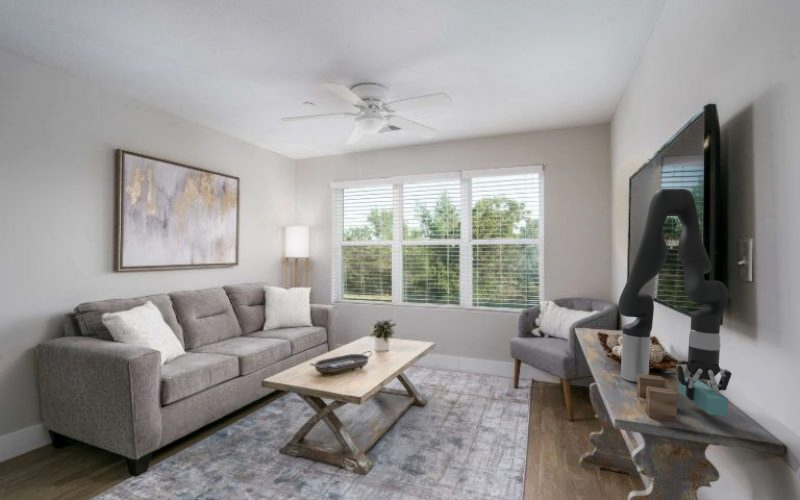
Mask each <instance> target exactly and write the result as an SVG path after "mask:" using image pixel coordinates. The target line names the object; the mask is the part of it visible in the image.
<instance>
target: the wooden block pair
mask: <svg viewBox="0 0 800 500" xmlns="http://www.w3.org/2000/svg"><path fill="white" fill-rule="evenodd" d="M636 398H637V400H638V402H639V403H640V405H641V407H642V408H643V411H644V412H645V413H646V415H647V416H648V418H653V419H657V420H658V419H659V420H664V419H665V421H670V420H672V422H677V420H678V419H677V418H678V417H677V415H678V393H677V392H676V391H675V390H674V389H671V388H669V389H668V388H666V380H665V379H664V377H662V376H661V375H651V374H649V375H645V374H637V382H636Z"/></svg>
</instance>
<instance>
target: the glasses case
mask: <svg viewBox="0 0 800 500" xmlns="http://www.w3.org/2000/svg"><path fill="white" fill-rule="evenodd" d="M684 377H685V381H687V379H688V376H687V377H686V376H684ZM692 388H693V400H689V401H690V402H692V404H694V405H695V406H697V407H699V408H700V409H701V410H702V411H703V412H705V413H706V414H708V415H711V416H712V415H713V416H720V417H721V416H722V417H723V416H724V417H728V409H729V408H728V407H729V398H727V397H726V396H724V395H723V394H722V393H719V391H718V392H717V391H715V390H713V389H712V388H711V386H710V385H709V386H708V385H707V384H705V383H704V382H702V381H700V379H698V380H697V382H695V384H694V386H693V387H692ZM678 393H679V394H680V395H682V396H684V397H685V398H686V399H688V397H687V396H686V386H685V385H682V384H681V383H680V382H679V381H678Z"/></svg>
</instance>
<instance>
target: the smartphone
mask: <svg viewBox="0 0 800 500" xmlns="http://www.w3.org/2000/svg"><path fill="white" fill-rule="evenodd" d="M664 373H667V375H674V376H675V375H677V372H676V371H673V369H671V370H670V371H666V372H664ZM664 373H663V374H664Z"/></svg>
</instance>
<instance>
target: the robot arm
mask: <svg viewBox="0 0 800 500" xmlns="http://www.w3.org/2000/svg"><path fill="white" fill-rule="evenodd" d="M696 206H697V205H696V201H695V198H694V195H693V193H692V192H691V191H690V190H689V189H686V188H660V189H658V190H656V191H655V192H654V193H653V195H652V196H651V199H650V202H649V206H648V211H647V216H646V221H645V224H644V225H645V226H644V230H643V233H642V236H641V240H640V243H639V245H638V247H637V251H636V254H635V257H634V260H633V265H632V267H631V270H630V273H629V276H628V278H627V280H626V283H625V286H624V287H623V290H622V291H621V294H620V296H619V300H618V304H617V308H618V313H619V314H620V315H621V316H623V317H627V318H635V319H634V321H632V322H630V323H628V324H625V325H623V327H622V331H621V332H622V334H621V335H622V337H621V361H620V362H621V365H620V378H621V379H623V380H625V381H628V382H633V383H637V374H645V375H650V367H649V362H650V350H651V332H652V330H653V322H654V311H655V302H654V300H653V297H652V296H651V295H650V294H649V293H645V292H644V293H642V292H641V290H642V289H643V287H644V286H645V285H647V284H648V283H649V282H651V280H653V279H654V278H655V277H656V276H658V275H659V273H661V271H662V270H663V268H664V266H665V264H666V260H667V257H668V255H669V249H668V244H667V242H666V239H665V236H664V231H663V229H664V227H665V222H666V220H667V217H677V218H678V220H679V222H680V224H681V225H680V226H681V232H680V233H681V234H680V238H679V241H678V245H677V253H678V256H679V259H680V262H681V265H682V268H683V271H684V291H685V295H686V296H687V298H688V299H689V300H690V301H691V302H692V303H695V304H699V305H702V306H701V308H700V309H698V310H695V311H693V312H692V313H691V316H690V331H689V335H688V350H687V361H686V363H684V364H679V363H676V364H675V370H676V375H677V379H678V383H679V382H680V383H681V384H682V385H685V386H686V396H687V397H688V398H687V399H688V400H689V401H690V400H693V388H692V387H693V386H694V384H695V382H697V380H705V381H708V383H709V387H710V388H712V389H713V390H715V391H717V392H718V393H719V392H720V391H726V390H727V388H728V385H729V383H730V379H731V377H732V374H733V373H732V372H731V371H729V370H728V369H726V368H725V369H723V368H721V367H720V351H721V336H720V334H721V333H720V331H721V319H722V316H723V315H724V311H725V308H726V306H727V303H728V300H729V291H728V288H727V286H726V284H724V283H723V282H722V281H719V280H706V279H705V274H708V273H710V272H711V270H712V268H713V267H712V263H711V261H710V258H709V255H708V253H707V249H706V248H705V245H704V242H703V241H704V240H703V238H702V234H701V229H700V223H699V216H698V211H697V207H696ZM640 292H641V293H640ZM686 370H688V371H689V374H688V376H687V377H688V379H687V381H685V377H686V376H685V372H686ZM718 374H720V378H719V382H718V383H717V381H716V378H715V377H716V376H717V375H718Z"/></svg>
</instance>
